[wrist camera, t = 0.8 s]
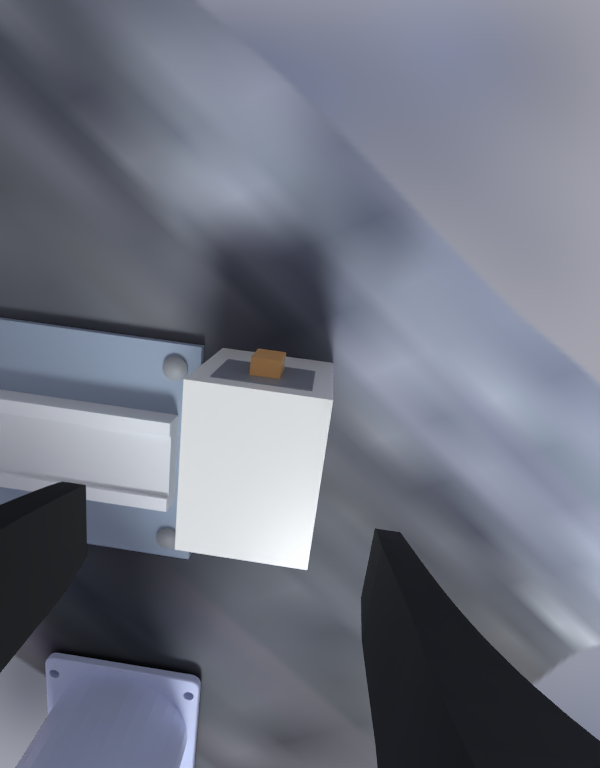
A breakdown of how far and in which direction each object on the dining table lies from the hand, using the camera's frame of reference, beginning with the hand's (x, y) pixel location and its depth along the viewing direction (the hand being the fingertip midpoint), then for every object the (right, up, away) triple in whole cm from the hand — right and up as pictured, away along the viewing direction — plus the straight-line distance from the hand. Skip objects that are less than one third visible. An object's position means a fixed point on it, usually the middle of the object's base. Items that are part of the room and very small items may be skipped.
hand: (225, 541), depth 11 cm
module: (+1, +2, +8) cm, 8 cm away
